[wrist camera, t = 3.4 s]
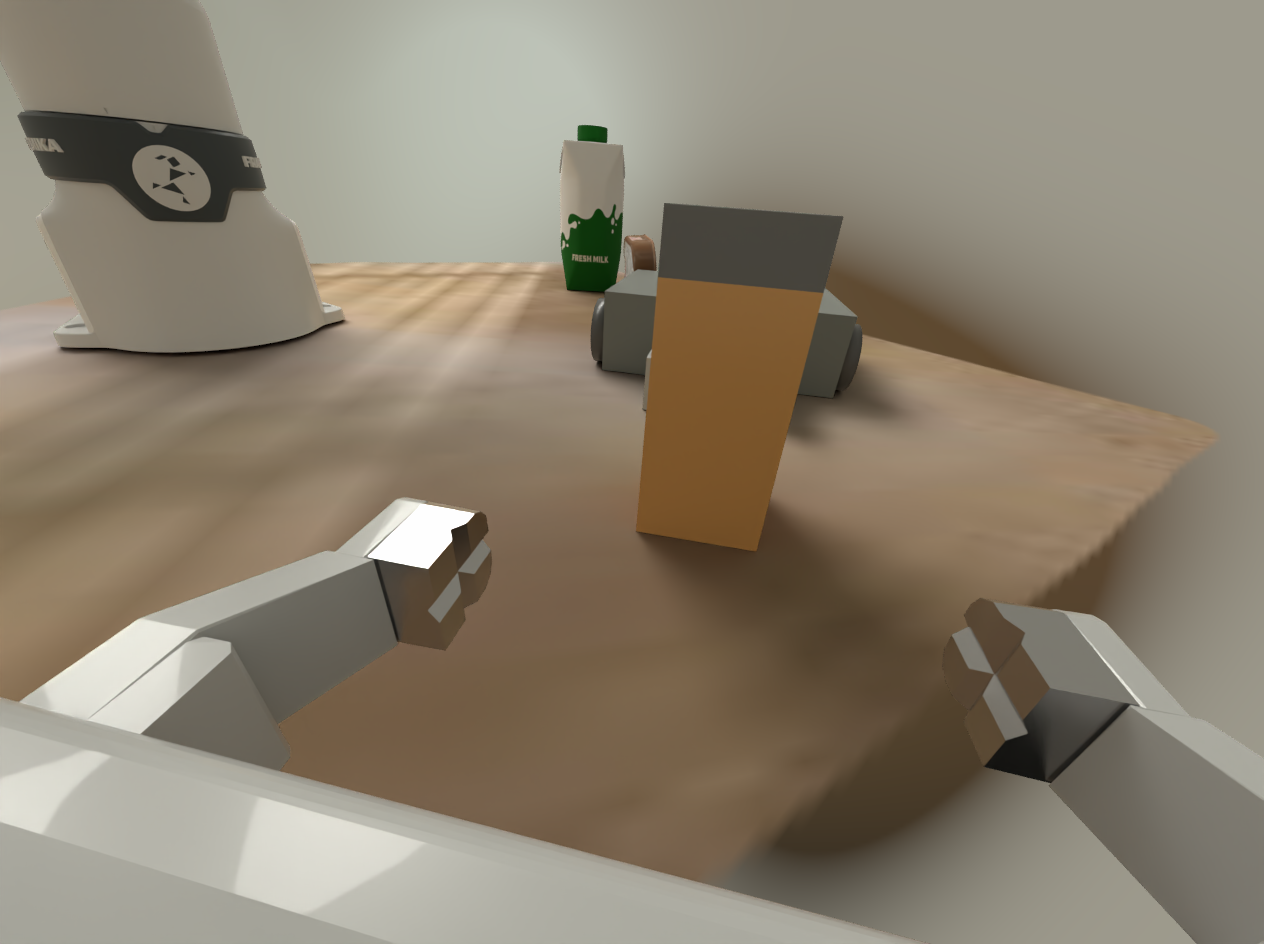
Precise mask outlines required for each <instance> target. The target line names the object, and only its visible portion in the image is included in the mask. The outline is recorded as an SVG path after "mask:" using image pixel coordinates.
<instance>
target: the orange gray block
mask: <svg viewBox="0 0 1264 944" xmlns="http://www.w3.org/2000/svg"><path fill="white" fill-rule="evenodd" d="M842 220H843V217H842V216H831V215H821V214H809V213H795V212H783V211H769V210H756V209H742V208H729V207H716V206H701V205H689V204H670V203H664V214H663V225H662V236H661V249H660V260H659V271H658V283H657V294H656V306H655V317H654V329H653V341H652V352H651V364H650V376H649V387H648V399H647V411H646V422H645V434H644V446H643V457H642V469H641V481H640V492H639V504H638V515H637V527H636V531H637V532H643V533H649V534H655V535H661V536H667V537H673V538H679V539H685V540H691V541H696V542H702V543H708V544H714V545H720V546H726V547H732V548H738V549H744V550H750V551H757V547H758V543H759V539H760V536H761V532H762V528H763V524H764V520H765V516H766V512H767V509H768V505H769V501H770V497H771V493H772V489H773V486H774V482H775V478H776V474H777V470H778V466H779V462H780V459H781V455H782V451H783V447H784V443H785V439H786V436H787V432H788V428H789V424H790V420H791V416H792V412H793V409H794V405H795V401H796V397H797V393H798V389H799V386H800V382H801V378H802V374H803V370H804V366H805V362H806V359H807V355H808V351H809V347H810V343H811V339H812V336H813V332H814V328H815V324H816V320H817V316H818V312H819V309H820V305H821V301H822V297H823V293H824V289H825V286H826V282H827V278H828V274H829V270H830V266H831V262H832V259H833V255H834V251H835V247H836V243H837V239H838V236H839V231H840V228H841V224H842Z"/></svg>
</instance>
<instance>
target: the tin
mask: <svg viewBox="0 0 1264 944" xmlns="http://www.w3.org/2000/svg"><path fill="white" fill-rule="evenodd" d="M624 257H625V277H627V276H628V275H630V274H631V273H633V272H634V271H636V270H637V269H640V270H650V271H656V254H655V247H654V243H653V240H651V239H650V238H649V237H647V236H646V235H645V234H644V235H640V236H639V235H636V236H635V235H633V236H626V237H625V239H624ZM625 277H624V278H625Z"/></svg>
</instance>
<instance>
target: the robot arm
mask: <svg viewBox="0 0 1264 944" xmlns="http://www.w3.org/2000/svg"><path fill="white" fill-rule="evenodd" d="M0 62H1V64H2V66H3V68H4V70H5V72H6V74H7V76H8V78H9V80H10V82H11V84H12V86H13V88H14V90H15V92H16V94H17V96H18V98H19V100H20V103H21V105H22V107H23V109H24V111H25V112H21V113H20V114H19V115H18V118H19V120H20V123H21V125H22V127H23V130H24V132H25V134H26V136H27V138H25V139H26V142H27V144H28V146H29V148H30V150H33V152H34V154H35V156H36V158H37V160H38V162H39V164H40V166H41V168H42V170H43V172H44V174H45V175H46V176H47V177H49V178H50V179H54V180H55V192H54V196H53V199H52V200H51V202H50V203H49V204H48V205H47V206H46V207H45V208H44V209H42V211H41V214H40V215H39V216H37V217H36V223H37V226H38V228H39V230H40V232H41V234H42V236H43V238H44V241H45V244H46V246H47V248H48V249H49V251H50V253H51V255H52V257H53V259H54V261H55V264H56V265H57V268H58V270H59V272H60V274H61V276H62V278H63V280H64V282H65V284H66V286H67V288H68V290H69V292H70V295H71V297H72V299H73V301H74V303H75V305H76V307H77V309H78V311H79V314H78V315H77V316H75V317H74V318H72V319H71V320H69V321H68V322H66V323H65V324H64V325H62V326H61V327H59V328H58V329H56V330H55V331H54V332H53V334H54V336H55V339H56V341H57V344H58V346H61V347H78V348H114V349H122V350H129V351H140V352H196V351H211V350H223V349H233V348H241V347H249V346H256V345H262V344H268V343H273V342H278V341H283V340H287V339H291V338H295V337H299V336H302V335H305V334H308V333H310V332H312V331H314V330H316V329H318V328H319V327H321V326H323V325H326V324H330V323H333V322H337V321H341V320H343V319H345V316H344V314H343V311H342V308H340V307H338V306H334V305H331V304H328V303H324V302H322V301H321V298H320V295H319V292H318V289H317V285H316V282H315V279H314V276H313V273H312V270H311V266H310V263H309V260H308V257H307V254H306V251H305V248H304V245H303V241H302V238H301V235H300V232H299V229H298V227H297V225H296V223H295V222H294V221H292V220H290V219H289V218H288V217H287V216H285V215H284V214H282V213H281V212H279V211H278V210H277V209H276V208H275V207H273V205H272V204H271V203H270V202H269V201H268V200H267V198H266V197H265V196H264V194H263V193H262V191H264V190H265V189H266V186H265V182H264V179H263V175H262V172H261V169H260V168H262V167H261V164H260V161H259V158H257V156H256V153H255V150H254V147H253V144H252V141H251V140H250V139H249V138H248V137H246V136H243V132H242V129H241V125H240V122H239V118H238V115H237V112H236V108H235V105H234V102H233V98H232V95H231V92H230V88H229V85H228V81H227V78H226V74H225V71H224V68H223V64H222V61H221V58H220V54H219V51H218V47H217V44H216V40H215V37H214V34H213V30H212V27H211V24H210V21H209V18H208V16H207V14H206V11H205V9H204V8H203V6H202V4H201V2H200V1H199V0H0ZM488 531H489V530H488V524H487V518H486V515H484V514H483V513H482V512H481V511H476V510H471V509H466V508H461V507H455V506H450V505H445V504H440V503H435V502H427V501H423V500H418V499H412V498H407V497H404V498H399V499H396V500H395V501H394V502H393V503H391V504H390V505H389V506H388V507H387V508H386V509H385V510H383V511H382V512H381V513H380V514H379V515H378V516H376V517H375V518H374V519H373V520H372V521H371V522H369V523H368V524H367V525H366V526H365V527H364V528H362V529H361V530H360V531H359V532H358V533H357V534H355V535H354V536H353V537H352V538H351V539H350V540H348V541H347V542H346V543H345V544H344V545H343V546H341V547H340V548H339V549H338V550H337V551H336V552H332V551H324V552H321V553H318V554H315V555H313V556H310V557H307V558H304V559H302V560H299V561H296V562H293V563H291V564H288V565H285V566H282V567H280V568H277V569H274V570H271V571H269V572H266V573H263V574H260V575H258V576H255V577H252V578H249V579H246V580H244V581H241V582H238V583H235V584H233V585H230V586H227V587H224V588H222V589H219V590H216V591H213V592H211V593H208V594H205V595H202V596H200V597H197V598H194V599H191V600H189V601H186V602H183V603H180V604H178V605H175V606H172V607H169V608H167V609H164V610H161V611H158V612H155V613H153V614H150V615H147V616H144V617H142V618H139V619H138V620H136V621H135V622H133V623H132V624H130V625H129V626H128V627H126V628H125V629H123V630H122V631H120V632H119V633H117V634H116V635H115V636H113V637H112V638H110V639H109V640H107V641H106V642H104V643H103V644H102V645H100V646H99V647H97V648H96V649H94V650H93V651H91V652H90V653H89V654H87V655H86V656H84V657H83V658H81V659H80V660H78V661H77V662H76V663H74V664H73V665H71V666H70V667H68V668H67V669H65V670H64V671H63V672H61V673H60V674H58V675H57V676H55V677H54V678H52V679H51V680H50V681H48V682H47V683H45V684H44V685H42V686H41V687H39V688H38V689H37V690H35V691H34V692H32V693H31V694H29V695H28V696H26V697H25V698H24V699H22V700H21V701H19V702H17V701H13V700H9V699H6V698H2V697H0V944H929V943H926V942H922V941H918V940H914V939H910V938H907V937H903V936H899V935H895V934H891V933H888V932H884V931H880V930H876V929H872V928H869V927H865V926H862V925H858V924H854V923H850V922H847V921H843V920H839V919H835V918H831V917H828V916H824V915H820V914H816V913H813V912H809V911H805V910H801V909H797V908H794V907H790V906H786V905H783V904H779V903H775V902H771V901H767V900H764V899H759V898H756V897H752V896H748V895H745V894H741V893H737V892H734V891H730V890H726V889H722V888H719V887H715V886H711V885H707V884H703V883H700V882H696V881H692V880H688V879H685V878H681V877H677V876H673V875H670V874H666V873H662V872H658V871H655V870H651V869H647V868H643V867H639V866H636V865H632V864H628V863H624V862H621V861H617V860H613V859H609V858H606V857H602V856H598V855H594V854H591V853H587V852H583V851H579V850H575V849H572V848H568V847H564V846H560V845H557V844H553V843H549V842H545V841H542V840H538V839H534V838H530V837H526V836H523V835H519V834H515V833H511V832H508V831H504V830H500V829H496V828H492V827H489V826H485V825H481V824H477V823H474V822H470V821H466V820H462V819H459V818H455V817H451V816H447V815H443V814H440V813H436V812H432V811H428V810H425V809H421V808H417V807H413V806H409V805H406V804H402V803H398V802H394V801H391V800H387V799H383V798H379V797H375V796H372V795H368V794H364V793H360V792H357V791H353V790H349V789H345V788H342V787H338V786H334V785H330V784H326V783H323V782H319V781H315V780H311V779H308V778H304V777H300V776H296V775H292V774H289V773H285V772H281V771H280V769H281V768H282V767H283V766H284V764H285V763H286V762H287V761H288V759H289V758H290V746H289V744H288V742H287V741H286V739H285V737H284V735H283V734H282V732H281V730H280V728H279V727H278V725H277V724H279V723H280V722H282V721H283V720H285V719H286V718H288V717H289V716H291V715H292V714H294V713H295V712H297V711H298V710H300V709H301V708H303V707H304V706H306V705H307V704H309V703H310V702H312V701H313V700H315V699H316V698H318V697H319V696H321V695H322V694H324V693H325V692H327V691H329V690H330V689H332V688H333V687H335V686H336V685H338V684H339V683H341V682H342V681H344V680H345V679H347V678H348V677H350V676H351V675H353V674H354V673H356V672H357V671H359V670H360V669H362V668H363V667H365V666H366V665H368V664H369V663H371V662H372V661H374V660H375V659H377V658H379V657H380V656H382V655H383V654H385V653H386V652H388V651H389V650H391V649H392V648H394V647H395V646H397V645H398V642H401V643H407V644H412V645H417V646H423V647H428V648H434V649H439V650H445V651H446V649H447V648H448V646H449V645H450V643H451V642H452V640H453V638H454V637H455V635H456V634H457V632H458V631H459V629H460V628H461V626H462V625H463V623H464V622H465V620H466V619H465V613H464V608H466V607H467V606H469V605H471V604H473V603H475V602H477V601H478V600H479V598H480V597H481V595H482V593H483V592H484V590H485V589H486V586H487V583H488V580H489V577H490V574H491V565H492V557H491V550H490V549H489V547H488V546H487V545H486V544H485V542H484V541H483V540H482V539H483V538H484V536H485V535H486V534H487V532H488ZM964 617H965V620H966V622H967V625H968V627H967V628H965V629H963V630H961V631H959V632H956V633H954V634H952V635H951V637H950V639H949V641H948V643H947V645H946V647H945V648H944V654H943V664H942V667H943V672H944V678H945V681H946V684H947V686H948V688H949V691H950V693H951V695H952V696H953V697H954V698H955V699H956V700H957V701H958V702H959V703H960V704H962V705H963V706H964V707H965V708H966V709H967V710H968V712H967V715H966V717H965V719H964V725H965V727H966V729H967V731H968V734H969V736H970V738H971V740H972V742H973V744H974V747H975V749H976V751H977V753H978V755H979V758H980V760H981V762H982V764H983V767H986V768H990V769H994V770H999V771H1003V772H1007V773H1011V774H1015V775H1020V776H1023V777H1027V778H1032V779H1036V780H1040V781H1044V782H1048V783H1051V784H1050V785H1049V787H1050V788H1051V789H1052V790H1053V791H1054V792H1055V793H1056V794H1057V795H1058V796H1059V797H1060V798H1061V799H1062V801H1063V802H1064V803H1065V804H1066V805H1067V806H1068V807H1069V808H1070V809H1071V810H1072V811H1073V812H1074V813H1075V814H1076V815H1077V817H1079V819H1080V820H1081V821H1082V822H1083V823H1084V824H1085V825H1086V826H1087V827H1088V828H1089V829H1090V830H1091V831H1092V832H1093V834H1094V835H1095V836H1096V837H1097V838H1098V839H1099V840H1100V841H1101V842H1102V843H1103V844H1104V845H1105V846H1106V847H1107V848H1108V850H1109V851H1110V852H1111V853H1112V854H1113V855H1114V856H1115V857H1116V858H1117V859H1118V860H1119V861H1120V862H1121V863H1122V864H1123V866H1124V867H1125V868H1126V869H1127V870H1128V871H1129V872H1130V873H1131V874H1132V875H1133V876H1134V877H1135V878H1136V879H1137V880H1138V881H1139V883H1140V884H1141V885H1142V886H1143V887H1144V888H1145V889H1146V890H1147V891H1148V892H1149V893H1150V894H1151V895H1152V896H1153V898H1155V900H1156V901H1157V902H1158V903H1159V904H1160V905H1161V906H1162V907H1163V908H1164V909H1165V910H1166V911H1167V912H1168V913H1169V915H1170V916H1171V917H1172V918H1173V919H1174V920H1175V921H1176V922H1177V923H1178V924H1179V925H1180V926H1181V927H1182V928H1183V930H1184V931H1185V932H1186V933H1187V934H1188V935H1189V936H1190V937H1191V938H1192V939H1193V940H1194V941H1195V942H1196V943H1197V944H1264V758H1263V757H1261V756H1260V755H1258V754H1256V753H1255V752H1254V751H1252V750H1250V749H1249V748H1247V747H1246V746H1244V745H1243V744H1241V743H1240V742H1238V741H1237V740H1235V739H1233V738H1232V737H1230V736H1229V735H1227V734H1226V733H1224V732H1223V731H1221V730H1219V729H1218V728H1216V727H1215V726H1213V725H1212V724H1210V723H1209V722H1207V721H1205V720H1203V719H1198V718H1193V717H1190V716H1189V715H1188V714H1187V713H1186V711H1185V710H1184V709H1183V708H1182V707H1181V706H1180V705H1179V704H1178V702H1177V701H1176V700H1175V699H1174V698H1173V697H1172V696H1171V695H1170V694H1169V693H1168V691H1167V690H1166V689H1165V688H1164V687H1163V686H1162V685H1161V684H1160V682H1159V681H1158V680H1157V679H1156V678H1155V677H1154V676H1153V675H1152V674H1151V672H1150V671H1149V670H1148V669H1147V668H1146V667H1145V666H1144V665H1143V664H1142V662H1140V660H1139V659H1138V658H1137V657H1136V656H1135V655H1134V654H1133V652H1132V651H1131V650H1130V649H1129V648H1128V647H1127V646H1126V645H1125V644H1124V642H1123V641H1122V640H1121V639H1120V638H1119V637H1118V636H1117V635H1116V634H1115V632H1114V631H1113V630H1112V629H1111V628H1110V627H1109V626H1108V625H1107V624H1106V623H1105V622H1103V621H1102V620H1100V619H1098V618H1097V617H1095V616H1093V615H1088V614H1081V613H1075V612H1068V611H1062V610H1056V609H1053V610H1049V609H1044V608H1038V607H1032V606H1026V605H1020V604H1014V603H1008V602H1002V601H996V600H990V599H984V598H979V599H978V600H976V601H975V602H973V603H972V604H971V605H970V607H969V608H968V610H967V611H966V613H965V614H964Z"/></svg>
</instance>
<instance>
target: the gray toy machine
mask: <svg viewBox="0 0 1264 944" xmlns="http://www.w3.org/2000/svg"><path fill="white" fill-rule="evenodd" d="M658 271H659V265H658ZM658 271H650V270H640V269H637V270H636V271H634V272H633V273H631V274H630V275H628V276H627V277H625V278H624V279H622V280H621V281H619V282H618V283H616V284H615V285H613V286H612V287H610V288H609V289H607V290H606V291H605V296H604V298H599V299H598V301H597V303H596V305H595V308H594V313H593V318H592V325H591V351H592V356H593V359H594V360H595V361H602V370H609V371H617V372H625V373H633V374H641V375H645V384H644V396H643V408H642V409H643V410H647V399H648V387H649V376H650V364H651V352H652V341H653V329H654V317H655V306H656V294H657V283H658ZM856 320H857V316H856V315H855V314H854V313H853V312H852V311H850V310H849V309H848V308H847V307H846V306H845V305H843V304H842V303H841V302H840V301H839V300H838V299H837V298H836V297H835V296H833V295H832V294H831V293H830V292H829V291H828V290H827V289H826V288H825V289H824V293H823V297H822V301H821V305H820V309H819V312H818V316H817V320H816V324H815V328H814V332H813V336H812V339H811V343H810V347H809V351H808V355H807V359H806V362H805V366H804V370H803V374H802V378H801V382H800V386H799V389H798V393H797V394H803V395H811V396H819V397H827V398H833V396H834V393H835V390H841V391H844V390H845V389H847V387H848V386H849V385H850V383H851V381H852V379H853V377H854V374H855V372H856V369H857V366H858V362H859V358H860V354H861V347H862V329H861V326H860V325H858V324H856Z"/></svg>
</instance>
